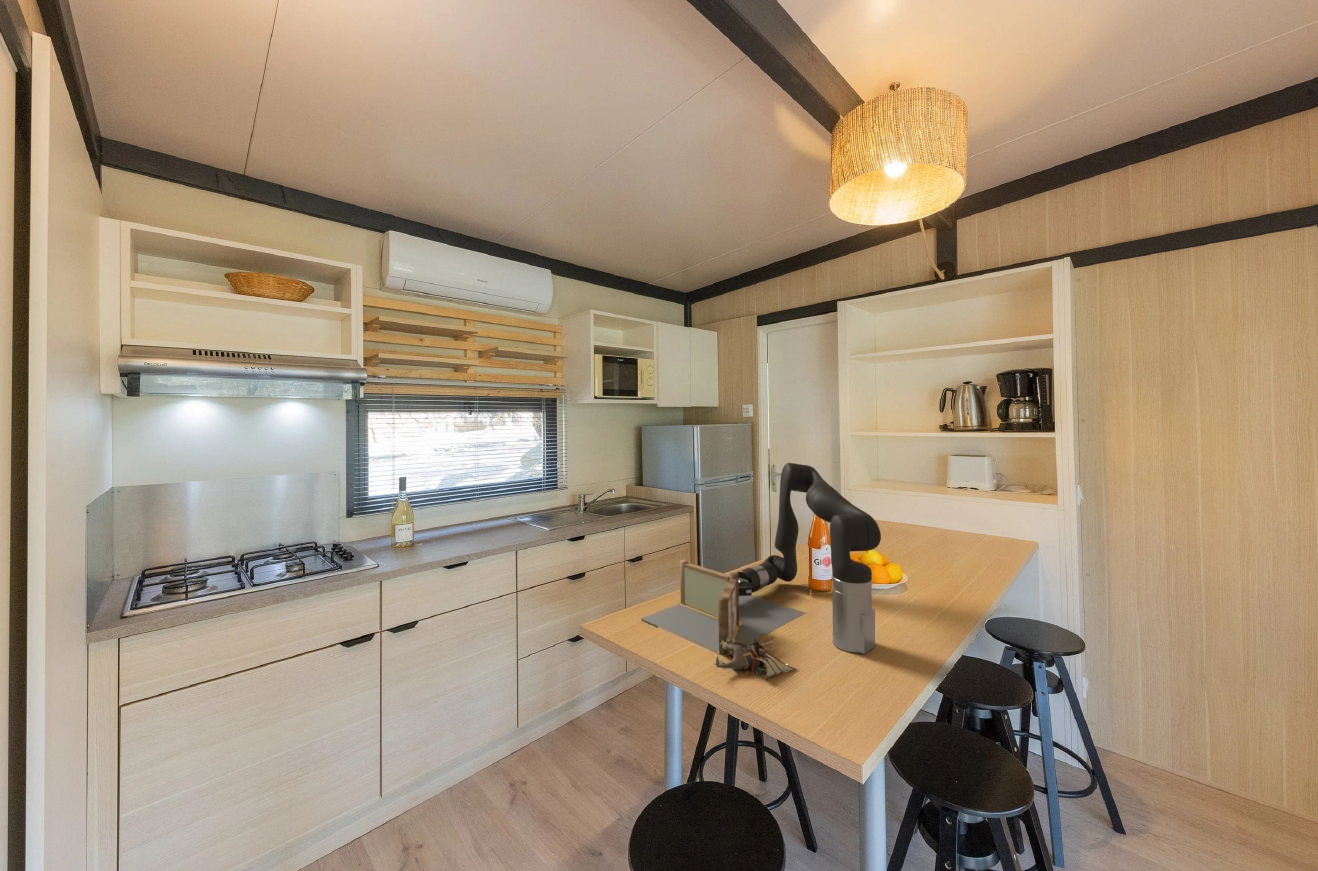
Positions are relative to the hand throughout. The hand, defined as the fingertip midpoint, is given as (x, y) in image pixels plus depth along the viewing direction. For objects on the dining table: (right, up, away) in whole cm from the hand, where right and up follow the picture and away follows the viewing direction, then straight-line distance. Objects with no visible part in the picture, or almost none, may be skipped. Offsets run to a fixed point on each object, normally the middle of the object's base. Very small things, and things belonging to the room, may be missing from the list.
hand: (715, 593), depth 141 cm
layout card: (+2, -6, -1) cm, 7 cm away
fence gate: (-3, -6, +2) cm, 7 cm away
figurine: (+6, -8, -30) cm, 31 cm away
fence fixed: (+2, -7, -15) cm, 16 cm away
